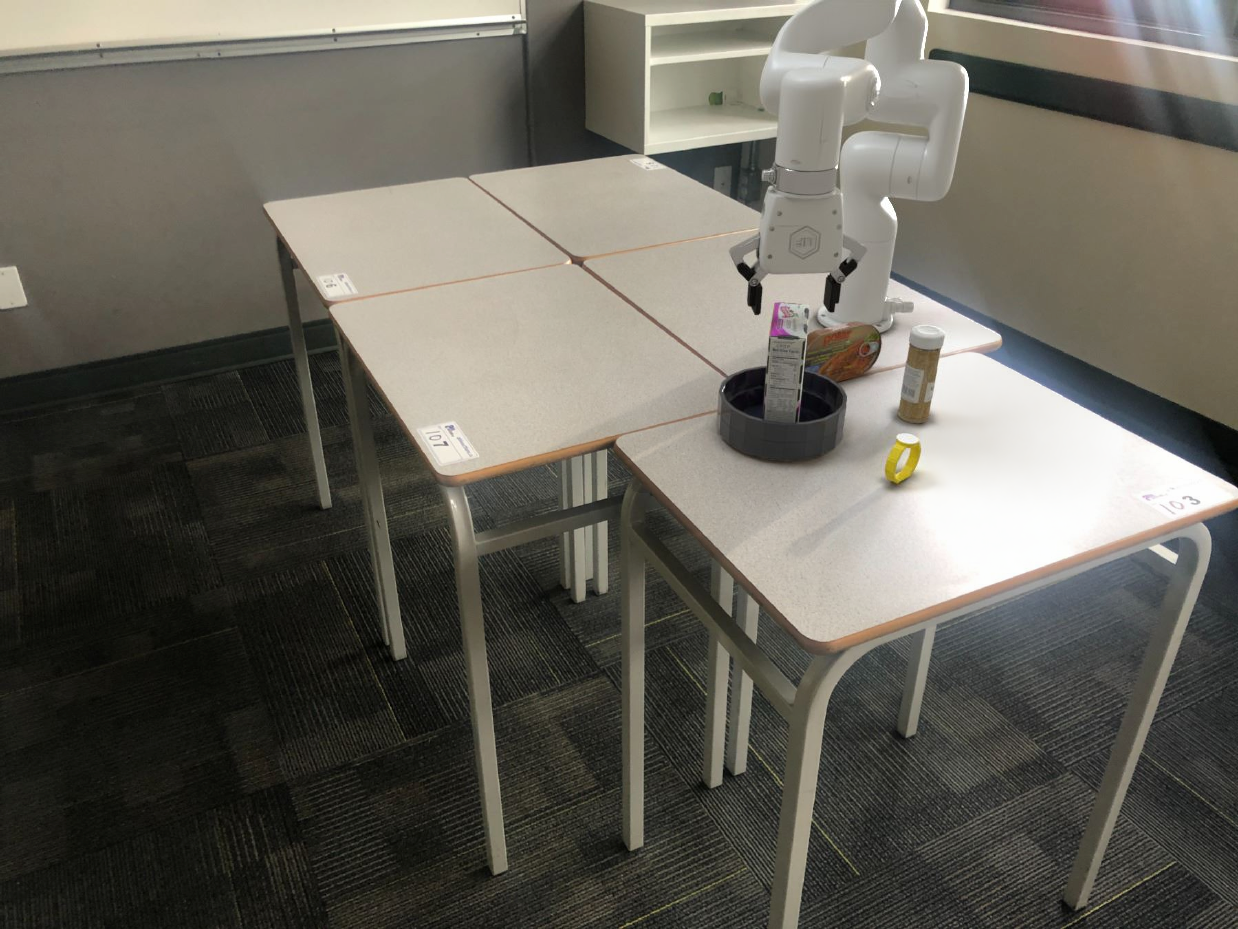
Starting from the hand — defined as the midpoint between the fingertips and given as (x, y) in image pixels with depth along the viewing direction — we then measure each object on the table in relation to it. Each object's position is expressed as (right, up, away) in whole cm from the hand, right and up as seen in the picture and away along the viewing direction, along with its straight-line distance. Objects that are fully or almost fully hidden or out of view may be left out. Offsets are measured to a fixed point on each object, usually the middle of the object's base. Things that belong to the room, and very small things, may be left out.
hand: (792, 309), depth 129 cm
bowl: (0, -16, +9) cm, 18 cm away
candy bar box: (0, -15, +9) cm, 18 cm away
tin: (+11, -7, +24) cm, 27 cm away
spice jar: (+19, -13, +13) cm, 27 cm away
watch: (+14, -22, -1) cm, 26 cm away
